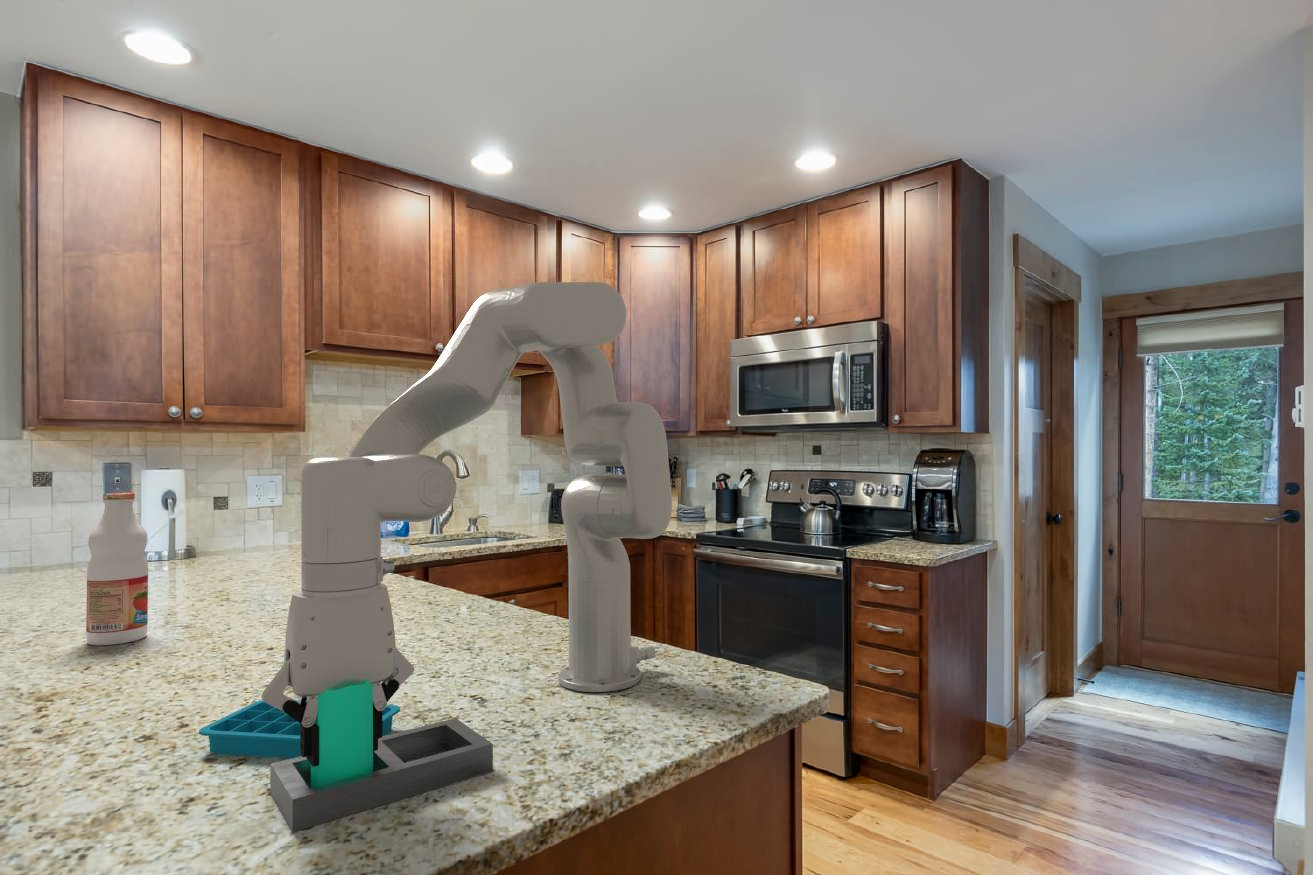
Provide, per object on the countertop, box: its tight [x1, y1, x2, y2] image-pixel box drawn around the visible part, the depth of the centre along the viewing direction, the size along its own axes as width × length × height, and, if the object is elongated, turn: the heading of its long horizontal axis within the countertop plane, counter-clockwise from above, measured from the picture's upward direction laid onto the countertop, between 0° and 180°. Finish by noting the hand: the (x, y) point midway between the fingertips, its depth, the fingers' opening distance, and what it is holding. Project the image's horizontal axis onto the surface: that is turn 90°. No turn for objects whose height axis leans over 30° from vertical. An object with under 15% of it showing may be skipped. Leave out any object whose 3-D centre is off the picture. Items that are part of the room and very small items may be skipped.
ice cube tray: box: [198, 699, 401, 759], centre depth 88 cm, size 12×20×3 cm, turn 81°
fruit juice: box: [85, 492, 149, 646], centre depth 138 cm, size 9×9×28 cm
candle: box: [310, 680, 373, 789], centre depth 74 cm, size 6×6×12 cm
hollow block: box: [269, 717, 494, 833], centre depth 76 cm, size 20×10×3 cm, turn 129°
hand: (342, 752), depth 74 cm, fingers closed on candle, 4 cm apart
